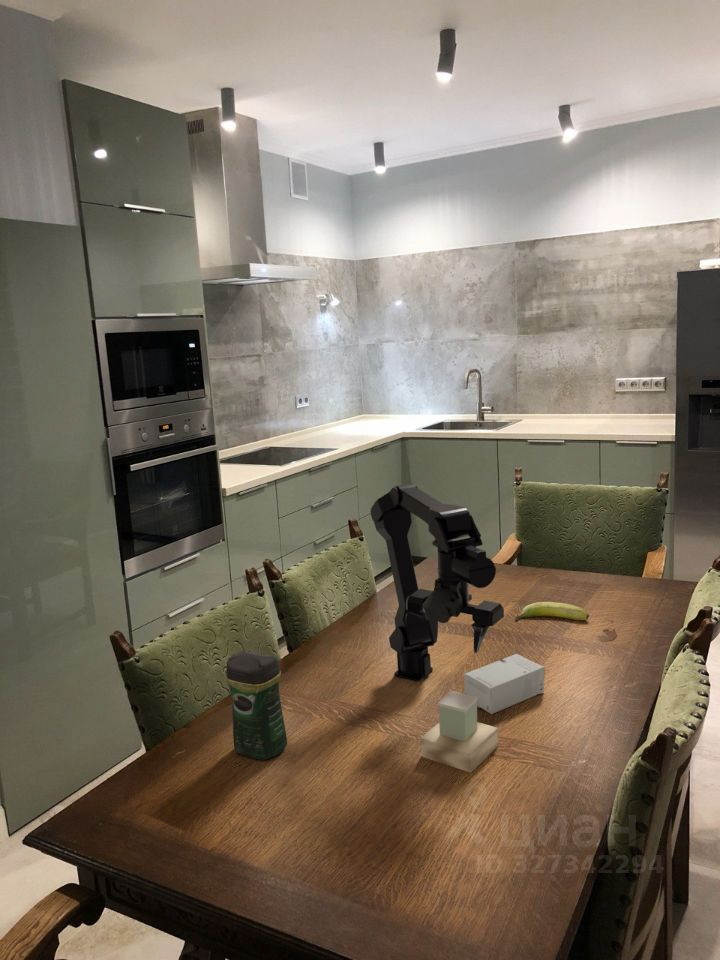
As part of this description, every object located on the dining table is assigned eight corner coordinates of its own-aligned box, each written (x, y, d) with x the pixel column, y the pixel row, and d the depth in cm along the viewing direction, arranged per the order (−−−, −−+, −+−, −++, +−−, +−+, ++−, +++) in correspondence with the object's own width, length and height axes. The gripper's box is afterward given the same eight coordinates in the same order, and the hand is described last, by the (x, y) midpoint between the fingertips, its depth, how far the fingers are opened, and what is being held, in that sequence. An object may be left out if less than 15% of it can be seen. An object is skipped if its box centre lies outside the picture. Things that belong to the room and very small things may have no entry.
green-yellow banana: (627, 606, 203) (627, 592, 202) (619, 648, 179) (619, 632, 178) (495, 596, 217) (495, 583, 216) (470, 633, 192) (470, 619, 191)
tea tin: (438, 735, 138) (438, 702, 137) (452, 721, 142) (451, 690, 141) (465, 742, 135) (464, 709, 134) (478, 728, 139) (477, 696, 138)
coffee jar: (294, 744, 145) (286, 651, 142) (268, 765, 139) (259, 668, 135) (253, 733, 150) (245, 643, 147) (227, 753, 144) (217, 659, 140)
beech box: (421, 758, 138) (420, 737, 138) (450, 733, 146) (449, 713, 145) (470, 775, 132) (470, 753, 132) (498, 748, 140) (497, 727, 139)
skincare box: (545, 666, 157) (491, 687, 149) (545, 693, 159) (491, 716, 151) (515, 652, 164) (462, 672, 156) (515, 678, 166) (462, 699, 157)
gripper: (389, 578, 148) (393, 653, 152) (478, 593, 138) (480, 674, 141) (419, 561, 157) (421, 632, 161) (504, 574, 147) (505, 651, 150)
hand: (455, 647), depth 153 cm, fingers open, 9 cm apart
